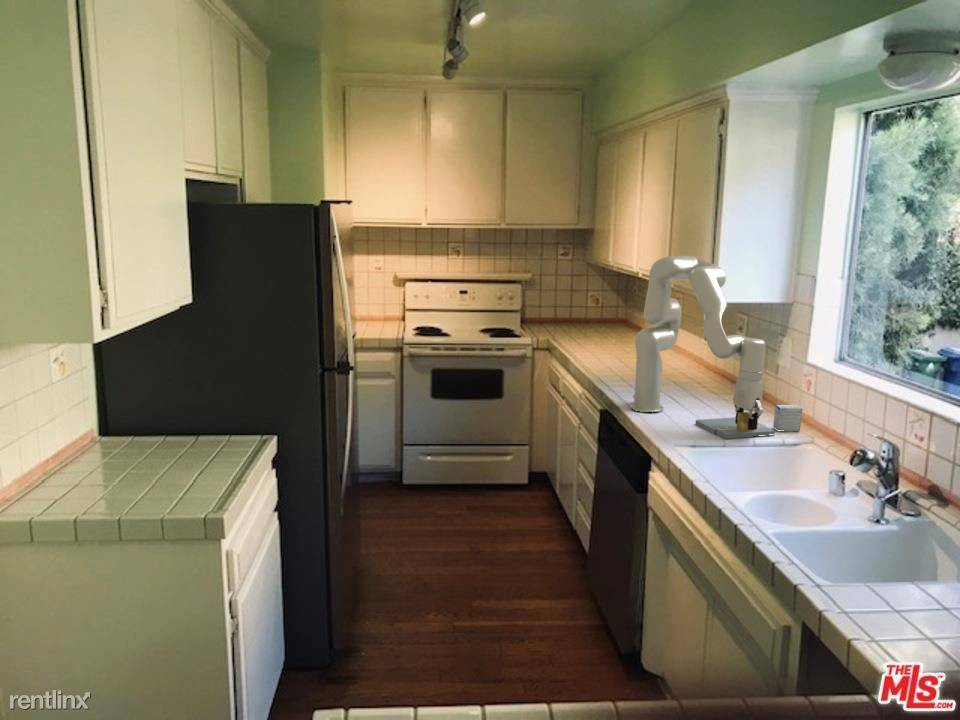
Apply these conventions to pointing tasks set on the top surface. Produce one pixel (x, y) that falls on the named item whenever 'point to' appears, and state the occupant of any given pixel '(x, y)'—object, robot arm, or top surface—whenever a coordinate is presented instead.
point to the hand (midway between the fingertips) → (745, 426)
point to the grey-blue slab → (743, 429)
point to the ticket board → (718, 424)
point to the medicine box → (787, 417)
